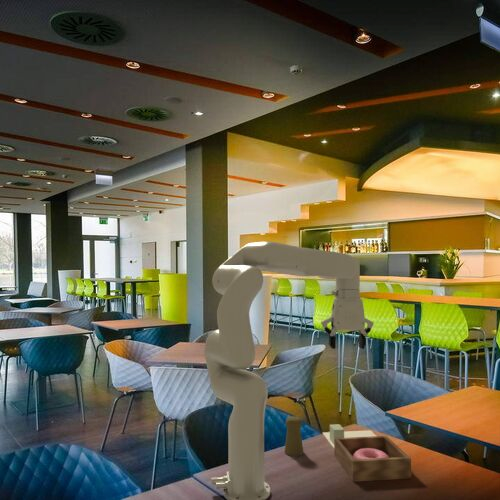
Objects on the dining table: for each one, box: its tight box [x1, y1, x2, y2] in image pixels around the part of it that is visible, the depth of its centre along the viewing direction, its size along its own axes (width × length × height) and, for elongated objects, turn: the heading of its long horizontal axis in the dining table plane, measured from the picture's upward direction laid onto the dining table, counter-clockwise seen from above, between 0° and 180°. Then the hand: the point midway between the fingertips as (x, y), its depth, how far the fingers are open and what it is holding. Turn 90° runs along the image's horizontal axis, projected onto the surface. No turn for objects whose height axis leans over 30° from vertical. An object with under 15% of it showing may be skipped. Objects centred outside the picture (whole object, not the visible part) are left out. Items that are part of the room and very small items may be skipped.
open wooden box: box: [333, 435, 412, 483], centre depth 134 cm, size 17×17×6 cm
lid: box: [322, 423, 377, 449], centre depth 153 cm, size 18×18×6 cm
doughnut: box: [353, 448, 389, 460], centre depth 134 cm, size 11×11×4 cm
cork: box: [284, 415, 304, 457], centre depth 144 cm, size 6×6×11 cm
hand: (347, 348), depth 144 cm, fingers open, 9 cm apart
